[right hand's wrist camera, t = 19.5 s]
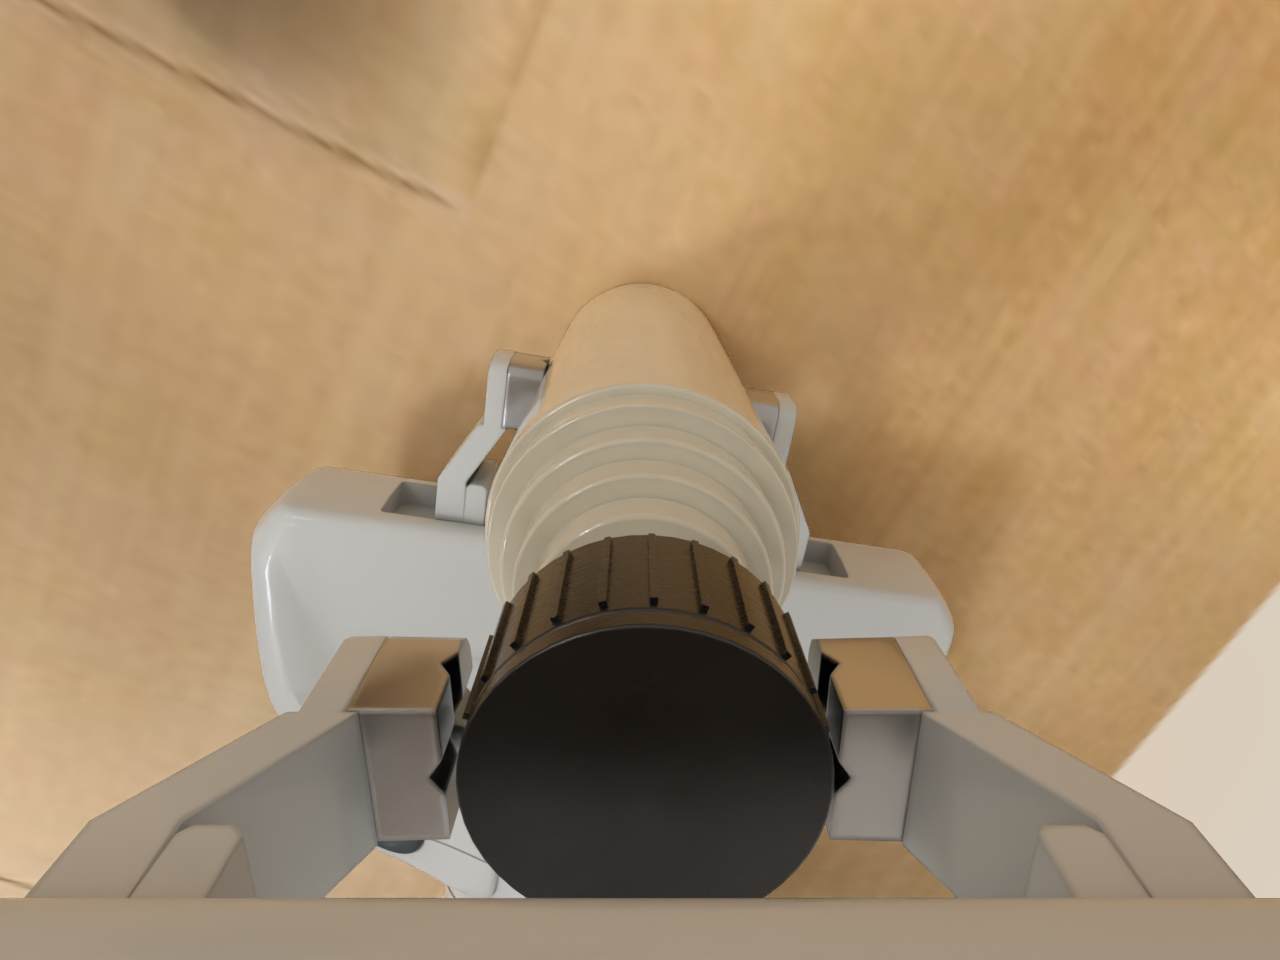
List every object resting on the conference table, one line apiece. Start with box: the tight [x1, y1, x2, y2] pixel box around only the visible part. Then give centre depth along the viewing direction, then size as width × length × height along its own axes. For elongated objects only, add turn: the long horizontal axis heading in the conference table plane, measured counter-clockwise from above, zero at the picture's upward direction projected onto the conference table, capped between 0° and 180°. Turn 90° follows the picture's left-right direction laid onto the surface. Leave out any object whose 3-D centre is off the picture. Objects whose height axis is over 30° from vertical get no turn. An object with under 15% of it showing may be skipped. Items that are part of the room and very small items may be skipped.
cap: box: [456, 533, 834, 898], centre depth 9 cm, size 4×4×2 cm
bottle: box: [485, 284, 799, 609], centre depth 18 cm, size 6×6×20 cm
